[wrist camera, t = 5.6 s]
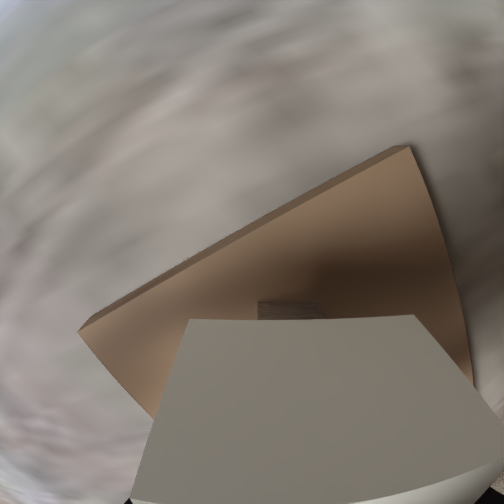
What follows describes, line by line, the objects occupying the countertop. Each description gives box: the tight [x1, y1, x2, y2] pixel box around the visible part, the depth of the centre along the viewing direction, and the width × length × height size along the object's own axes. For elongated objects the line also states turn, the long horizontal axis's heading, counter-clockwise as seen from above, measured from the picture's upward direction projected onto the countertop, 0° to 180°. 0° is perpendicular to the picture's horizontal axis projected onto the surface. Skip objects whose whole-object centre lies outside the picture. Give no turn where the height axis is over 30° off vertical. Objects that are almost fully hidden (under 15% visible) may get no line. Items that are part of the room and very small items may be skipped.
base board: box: [77, 146, 474, 419], centre depth 15 cm, size 20×16×2 cm
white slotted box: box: [130, 314, 504, 504], centre depth 6 cm, size 6×8×5 cm
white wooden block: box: [257, 302, 326, 320], centre depth 12 cm, size 2×4×3 cm, turn 0°
